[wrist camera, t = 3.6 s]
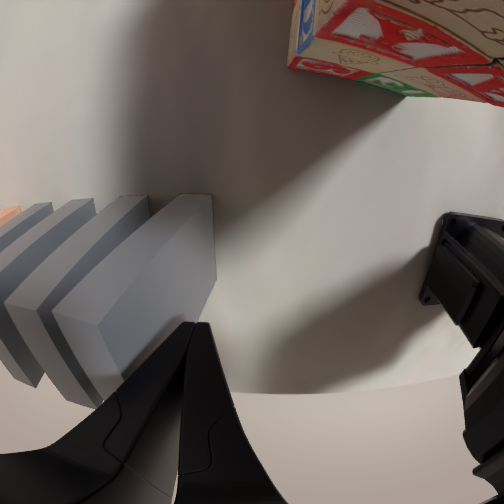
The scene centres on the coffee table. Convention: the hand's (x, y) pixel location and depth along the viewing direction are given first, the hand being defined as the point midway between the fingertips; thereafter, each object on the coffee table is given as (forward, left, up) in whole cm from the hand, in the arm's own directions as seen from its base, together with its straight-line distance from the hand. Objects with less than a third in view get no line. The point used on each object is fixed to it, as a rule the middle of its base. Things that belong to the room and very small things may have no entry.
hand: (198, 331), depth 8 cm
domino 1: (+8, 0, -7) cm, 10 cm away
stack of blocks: (-7, -19, -7) cm, 21 cm away
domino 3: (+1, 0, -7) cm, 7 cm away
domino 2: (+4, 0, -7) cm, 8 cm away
